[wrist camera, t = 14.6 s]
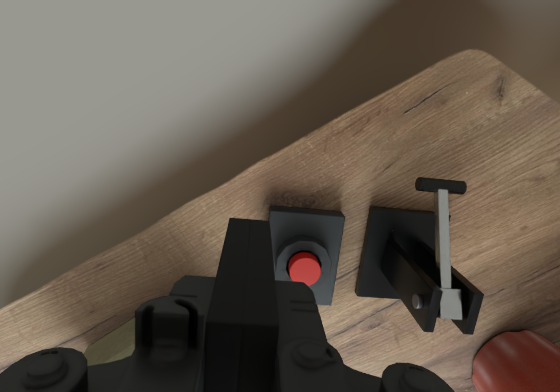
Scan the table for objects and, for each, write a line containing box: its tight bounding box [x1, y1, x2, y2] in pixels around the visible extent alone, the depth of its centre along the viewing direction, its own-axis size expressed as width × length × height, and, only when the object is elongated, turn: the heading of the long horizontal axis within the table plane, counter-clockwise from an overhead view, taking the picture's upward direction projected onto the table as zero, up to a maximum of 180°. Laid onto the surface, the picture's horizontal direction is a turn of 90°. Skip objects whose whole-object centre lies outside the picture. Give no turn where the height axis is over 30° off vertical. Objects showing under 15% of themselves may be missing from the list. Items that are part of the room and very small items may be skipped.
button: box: [288, 252, 321, 286], centre depth 43 cm, size 4×4×2 cm
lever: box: [415, 177, 467, 320], centre depth 38 cm, size 14×5×2 cm, turn 172°
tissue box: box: [84, 295, 170, 366], centre depth 42 cm, size 19×10×16 cm, turn 123°
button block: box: [268, 206, 345, 306], centre depth 45 cm, size 12×9×4 cm
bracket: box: [355, 206, 484, 335], centre depth 41 cm, size 12×10×14 cm
